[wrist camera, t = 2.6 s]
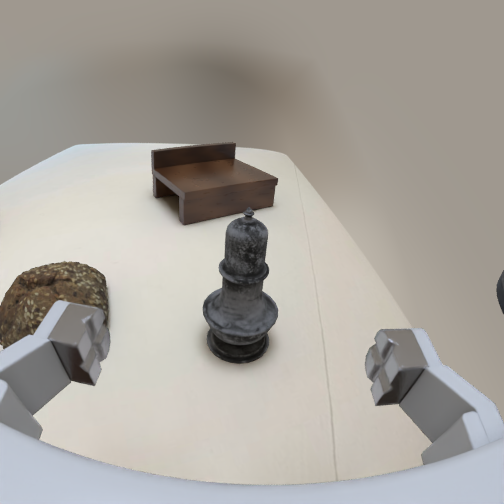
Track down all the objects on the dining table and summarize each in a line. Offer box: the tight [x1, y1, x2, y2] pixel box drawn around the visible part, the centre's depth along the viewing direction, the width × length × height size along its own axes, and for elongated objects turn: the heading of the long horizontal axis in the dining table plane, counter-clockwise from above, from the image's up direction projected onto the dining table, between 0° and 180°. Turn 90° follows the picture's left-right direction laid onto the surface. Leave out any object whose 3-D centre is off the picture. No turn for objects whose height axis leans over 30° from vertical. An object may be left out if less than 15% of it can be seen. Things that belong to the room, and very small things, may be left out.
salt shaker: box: [203, 207, 278, 363], centre depth 23 cm, size 6×6×12 cm
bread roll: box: [0, 261, 108, 349], centre depth 23 cm, size 13×12×5 cm
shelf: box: [151, 142, 278, 225], centre depth 50 cm, size 16×14×8 cm
